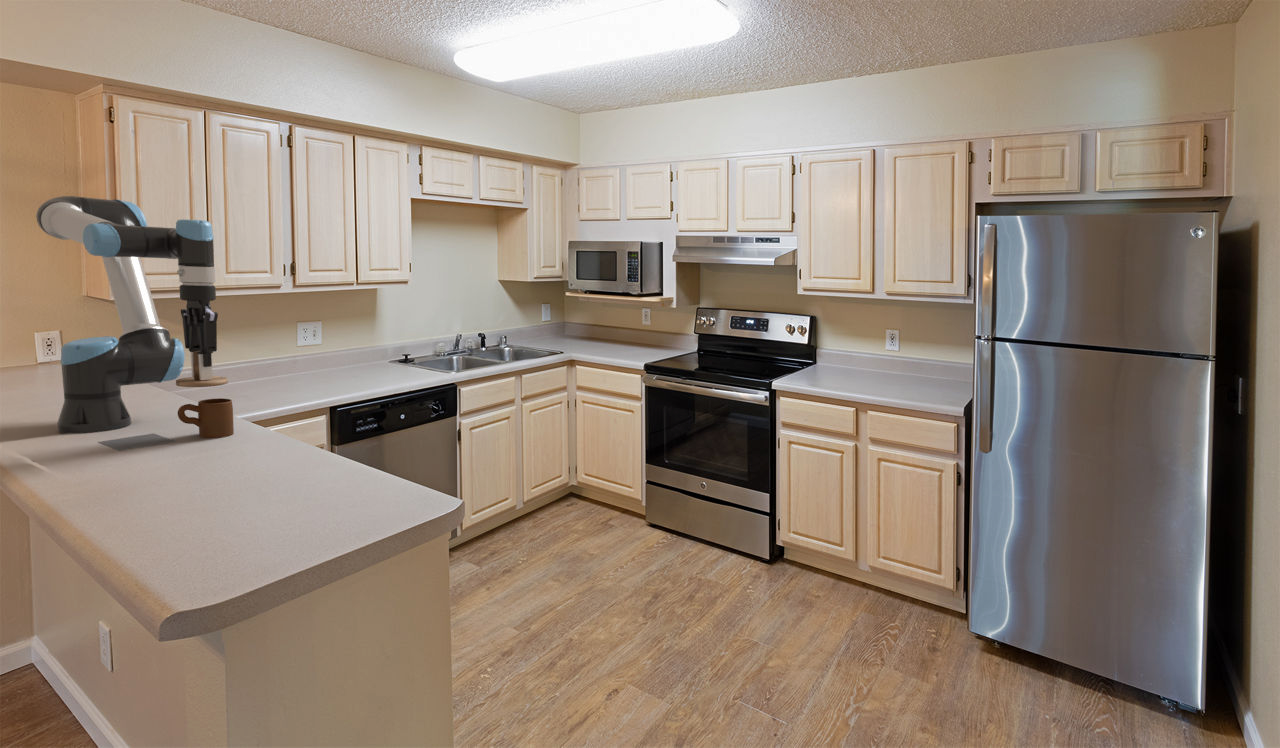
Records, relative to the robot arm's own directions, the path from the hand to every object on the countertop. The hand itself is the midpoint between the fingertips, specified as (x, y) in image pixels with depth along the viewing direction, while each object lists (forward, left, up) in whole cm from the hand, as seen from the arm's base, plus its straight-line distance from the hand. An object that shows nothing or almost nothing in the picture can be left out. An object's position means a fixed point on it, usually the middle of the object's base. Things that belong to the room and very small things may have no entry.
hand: (202, 378), depth 177 cm
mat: (-5, -13, -15) cm, 21 cm away
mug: (0, 0, -16) cm, 16 cm away
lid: (0, 0, -1) cm, 1 cm away
